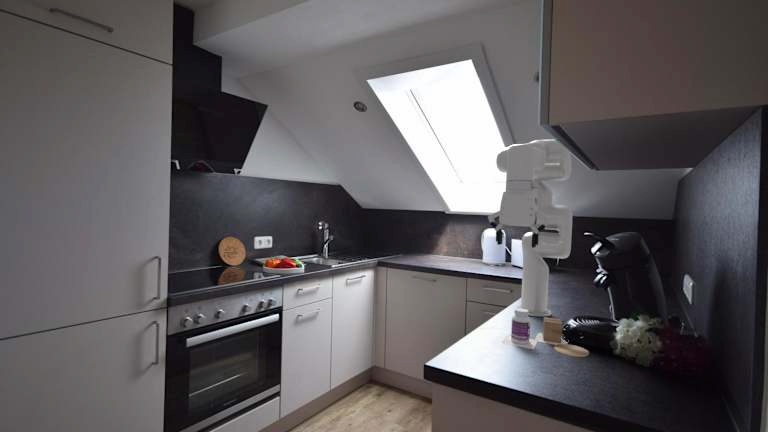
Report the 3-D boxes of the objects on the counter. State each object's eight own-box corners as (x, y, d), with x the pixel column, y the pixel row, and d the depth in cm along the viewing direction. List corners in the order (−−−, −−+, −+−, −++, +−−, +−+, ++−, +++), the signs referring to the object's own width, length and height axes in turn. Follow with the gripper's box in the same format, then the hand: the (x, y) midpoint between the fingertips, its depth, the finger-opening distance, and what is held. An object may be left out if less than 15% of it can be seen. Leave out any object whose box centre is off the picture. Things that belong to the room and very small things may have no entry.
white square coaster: (508, 335, 124) (508, 334, 124) (538, 341, 119) (538, 340, 119) (501, 343, 116) (501, 342, 116) (533, 350, 111) (533, 349, 111)
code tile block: (538, 333, 127) (538, 332, 127) (568, 339, 122) (568, 338, 122) (534, 341, 119) (534, 340, 119) (566, 347, 114) (566, 346, 114)
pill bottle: (532, 345, 115) (533, 312, 115) (514, 344, 115) (515, 312, 115) (525, 338, 120) (527, 307, 120) (508, 337, 120) (510, 307, 120)
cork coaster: (556, 343, 118) (556, 341, 118) (589, 349, 113) (589, 348, 113) (552, 352, 110) (552, 351, 110) (588, 359, 105) (588, 358, 105)
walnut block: (542, 335, 124) (543, 317, 124) (559, 338, 122) (560, 319, 122) (543, 340, 119) (544, 321, 119) (561, 343, 117) (562, 323, 117)
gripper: (552, 188, 112) (549, 247, 113) (492, 187, 121) (490, 242, 121) (549, 187, 106) (546, 249, 106) (486, 186, 114) (483, 244, 115)
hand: (516, 245), depth 114 cm, fingers open, 9 cm apart
